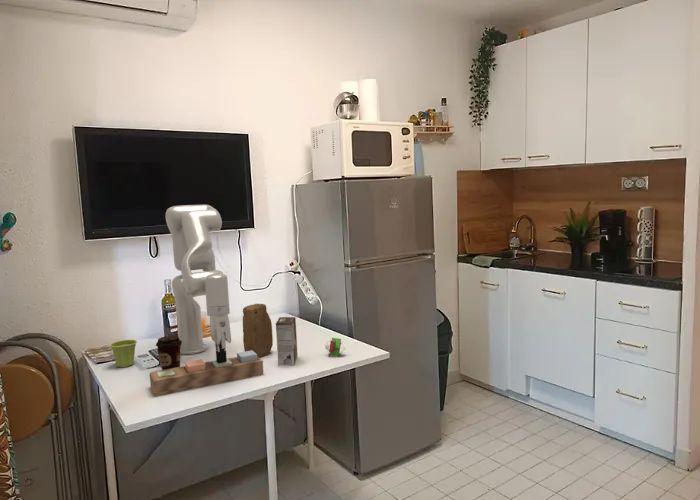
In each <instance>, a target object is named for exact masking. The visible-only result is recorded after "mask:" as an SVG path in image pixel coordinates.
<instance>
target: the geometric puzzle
mask: <svg viewBox="0 0 700 500" xmlns="http://www.w3.org/2000/svg"><path fill="white" fill-rule="evenodd" d="M341 345H342V346H343V347H342V349H343V350H341ZM324 348H325V350H326V351H327V352H328V356H333V357H339V354H340V353H343V351H344V350H346V348H345V346H344V345H343V342H342V338H336V337H332V338H331V339H330V340H329V341H327V342H326V343H325V344H324ZM340 351H341V352H340Z"/></svg>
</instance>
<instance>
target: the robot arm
mask: <svg viewBox="0 0 700 500" xmlns="http://www.w3.org/2000/svg"><path fill="white" fill-rule="evenodd" d="M165 221H166V225H167V228H168V230H169V232H170V236H171V239H172V253H173V262H174V267H175V269H176V270H177V271H180V272H181V274H178V275H177V276H175V277H174V278H173V279H172V281H171V289H172V293H173V296H174V303H175V313H176V314H175V315H176V324H177V325H176V326H177V336H178V337H179V339H180V340H181V341H182V344H181V348H180V352H181V354H180V355H194V354H198V353H203V352H204V351H207V349H208V345H207V343H206V344H205V343H204V340H203V339H204V338H203V326H202V310H201V309H202V308H201V306H200V304H199V303H198V302H197V301H196V300H195V299H194V298H196V297H200V296H205V304H206V316H208V317H209V326H210V329H209V330H210V337H211V340H212V341H213V342H214V346H215V347H214V348H215V359H216V361H217V363H223V362H226V361H227V343H228V344H231V342H232V334H231V326H230V319H229V318H230V317H229V314H230V313H231V312H230V311H231V310H230V297H229V296H230V295H229V283H228V276H227V275H226V274H225V273H224V272H223V271H221V270H219V269H218V270H217V267H216V258H215V257H216V256H215V252H214V250H213V249H212V248H213V243H212V239H211V236H210V233H212V232H219V231H220V230H221V228H222V225H223V221H222V217H221V214H220V213H219V211H218V210H217V209H216V208H214V206H212V205H209V204H188V205H187V204H185V205H184V204H183V205H173V206H171V207H169V208H167V209H166V212H165ZM197 270H202V271H197ZM192 271H195V272H192ZM196 271H197V272H196Z"/></svg>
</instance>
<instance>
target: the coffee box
mask: <svg viewBox="0 0 700 500" xmlns="http://www.w3.org/2000/svg"><path fill="white" fill-rule="evenodd" d="M296 319H297V318H296V317H295V316H282V317H281V316H280V317H278V319H277V321H276V323H275V328H276V329H275V330H276V332H275V333H276V348H277V351H276V353H277V365H278V366H280V367H281V366H283V367H284V366H286V365H288V366H295V365H296V363H297V360H298V356H299V355H298V341H297V339H298V338H297V322H296Z"/></svg>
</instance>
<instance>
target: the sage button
mask: <svg viewBox="0 0 700 500" xmlns="http://www.w3.org/2000/svg"><path fill="white" fill-rule="evenodd" d="M211 361H212V365H213V367H214V368H218V367H224V366H229V365H232V362H231V361H230V360H229V359H227V361H226V362H223V363H217V361H215V360H211Z"/></svg>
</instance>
